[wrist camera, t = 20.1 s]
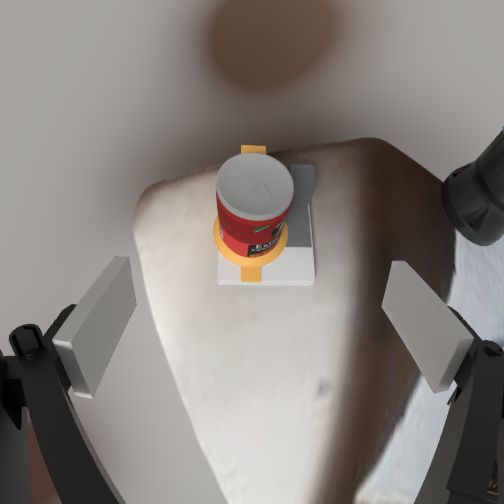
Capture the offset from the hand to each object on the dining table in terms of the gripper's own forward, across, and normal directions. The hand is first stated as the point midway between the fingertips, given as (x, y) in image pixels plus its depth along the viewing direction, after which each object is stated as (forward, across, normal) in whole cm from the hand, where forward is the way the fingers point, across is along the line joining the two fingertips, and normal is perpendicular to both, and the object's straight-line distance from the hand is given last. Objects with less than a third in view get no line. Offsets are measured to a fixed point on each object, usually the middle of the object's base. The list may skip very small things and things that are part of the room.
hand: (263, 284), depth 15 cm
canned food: (+25, 0, -6) cm, 26 cm away
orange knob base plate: (+27, +2, -8) cm, 28 cm away
